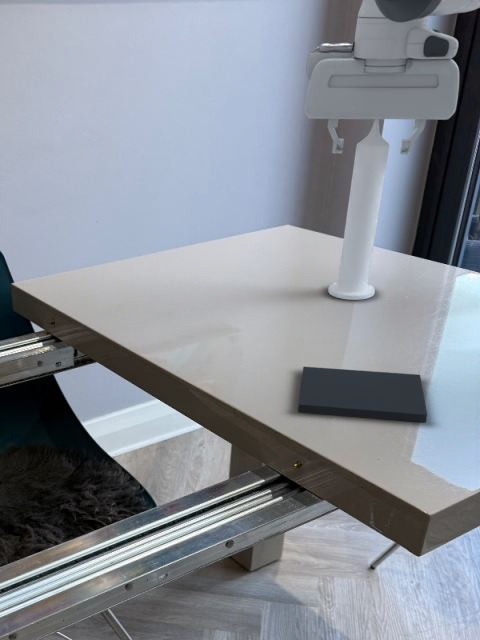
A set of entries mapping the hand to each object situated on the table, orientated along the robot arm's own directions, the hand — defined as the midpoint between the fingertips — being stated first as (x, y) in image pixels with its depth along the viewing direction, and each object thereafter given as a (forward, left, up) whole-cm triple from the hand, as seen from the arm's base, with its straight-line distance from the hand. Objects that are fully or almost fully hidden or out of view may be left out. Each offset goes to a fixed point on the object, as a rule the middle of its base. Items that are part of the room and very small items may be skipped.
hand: (370, 153), depth 113 cm
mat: (-1, +38, -21) cm, 43 cm away
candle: (0, 0, -21) cm, 21 cm away
